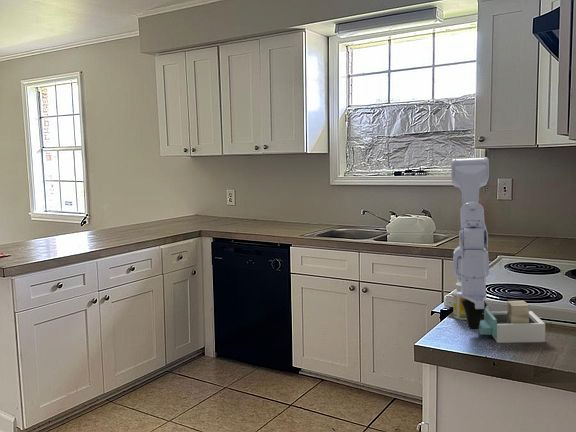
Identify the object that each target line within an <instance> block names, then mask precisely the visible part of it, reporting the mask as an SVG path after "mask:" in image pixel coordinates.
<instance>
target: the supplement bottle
mask: <svg viewBox="0 0 576 432" xmlns="http://www.w3.org/2000/svg"><path fill="white" fill-rule="evenodd" d="M457 292H461V282H458V283H457V282H456V283H455V290H454V291H453V293H452V296H453V297H452V299H453V301H452V302H453V303H452V304H453V305H452V306H453V315H452V316H453V318H454V319H456V320H460V321H467V317H466V313H465V309H464V307H463V304H462V302H461V299H465V298H463V297H458V296H457V295H456V293H457Z"/></svg>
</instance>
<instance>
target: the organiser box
mask: <svg viewBox="0 0 576 432" xmlns="http://www.w3.org/2000/svg"><path fill="white" fill-rule="evenodd" d="M490 312H491V313H492V314H507V311H490ZM529 315H530V316H531V317H532V318H533V319H534V320H535V321H536V322H537V323H519V324H497V337H493V335H492V334H490V335H491V337H493V339H494V340H495V342H497V344H498V343H499V344H500V343H507V344H508V343H546V322H544V321H543V320H542V319H541V318H539V316H538V315H537V314H535V313H534V311H532V310H529Z"/></svg>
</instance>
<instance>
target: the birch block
mask: <svg viewBox="0 0 576 432" xmlns="http://www.w3.org/2000/svg"><path fill="white" fill-rule="evenodd" d="M506 303H507V304H506V306H507V307H506V312H507V324H519V323H529V311H530V306H529V305H530V304H528V303H527V302H526V301H525V300H507V301H506Z"/></svg>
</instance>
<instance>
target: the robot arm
mask: <svg viewBox="0 0 576 432" xmlns="http://www.w3.org/2000/svg"><path fill="white" fill-rule="evenodd" d="M450 164H451V165H450V166H451V167H450V168H451V181H452V182H451V183H452V185H453V187H455V188H458V189H459V190H460V192H461V203H462V206H461V207H460V229H459V232H458V233H459V235H458V237H459V238H458V240H459V241H458V242H459V243H458V244H459V245H458V246H457V247H455V249H454V250H453V257H452V261H453V263H452V264H453V265H452V266H453V268H452V269H453V273H452V274H453V275H454V277H457V282H456V283H458V282H461V292H457V293H456V295H457V296H458V297H463V298H465V299H461V302H462V304H463V307H464V309H465V313H466V317H467V320H466V322H467V326H468V328H469V329H470V330H478V328H479V325H480V321H481V320H482V316H483V315H484V310H485V308H486V306H487V305H488V304H487V302H486V298H487V289H486V287H487V286H486V284H487V283H486V282H487V281H486V280H487V277H488V276H489V275H490V257H489V251H488V247H489V233H488V229H487V224H486V223H485V209H484V206H483V205H482V204H481V203H479V198H480V189H481V188H482V187H485V186H487V183H488V182H489V178H490V160H489V158H488V157H487V156H485V157H475V158H474V157H473V158H452V160H451V163H450ZM487 307H488V306H487Z"/></svg>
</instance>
